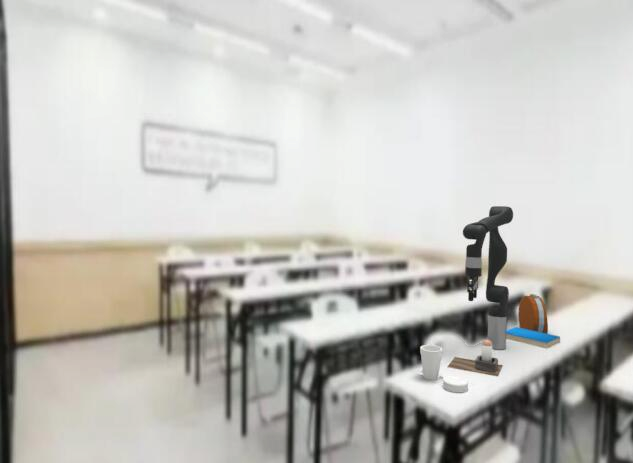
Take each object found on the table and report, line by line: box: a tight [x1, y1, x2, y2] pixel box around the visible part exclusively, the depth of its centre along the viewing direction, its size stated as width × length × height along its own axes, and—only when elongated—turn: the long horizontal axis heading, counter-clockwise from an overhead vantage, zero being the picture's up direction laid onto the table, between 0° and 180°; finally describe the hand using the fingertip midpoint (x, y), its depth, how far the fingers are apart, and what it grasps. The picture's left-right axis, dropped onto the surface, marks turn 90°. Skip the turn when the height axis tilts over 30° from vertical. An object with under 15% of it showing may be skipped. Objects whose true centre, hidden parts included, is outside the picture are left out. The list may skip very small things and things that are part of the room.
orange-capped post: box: [481, 339, 493, 363], centre depth 205 cm, size 4×4×13 cm
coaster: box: [442, 375, 469, 394], centre depth 186 cm, size 10×10×4 cm
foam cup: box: [419, 344, 443, 381], centre depth 197 cm, size 10×9×13 cm
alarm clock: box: [517, 293, 549, 334], centre depth 270 cm, size 22×10×23 cm, turn 179°
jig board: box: [447, 354, 504, 377], centre depth 208 cm, size 16×22×5 cm
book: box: [506, 326, 561, 349], centre depth 254 cm, size 17×4×25 cm
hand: (472, 299), depth 218 cm, fingers open, 8 cm apart
